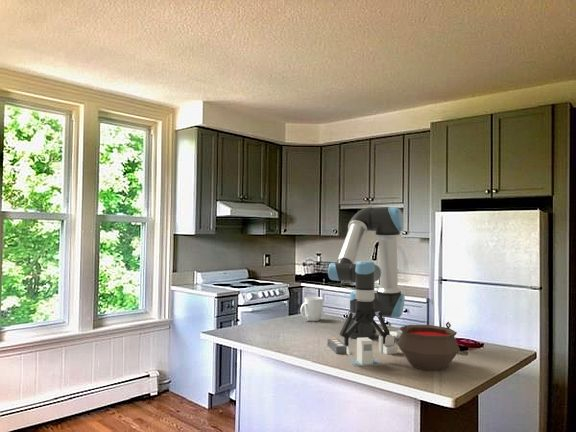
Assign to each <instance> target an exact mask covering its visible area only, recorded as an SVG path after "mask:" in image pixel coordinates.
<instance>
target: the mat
mask: <svg viewBox="0 0 576 432" xmlns="http://www.w3.org/2000/svg"><path fill="white" fill-rule="evenodd" d="M346 361H347V362H348V363H350V364H351V366H353V367H369V366H384V364H383V362H381V361H379V360H378V359H377V358H374V357H373V364H363V365H362V364H361V363H360V362H358V361H357V358H353V359H351V358H350V359H346Z"/></svg>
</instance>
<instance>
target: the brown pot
mask: <svg viewBox="0 0 576 432" xmlns="http://www.w3.org/2000/svg"><path fill="white" fill-rule="evenodd" d="M451 327H452V325H451V322H450V321H447V322H446V323H445V326H439V325H433V324H406V325H405V326H402V327H399V330H400V331H401V334H400V336H399V338H398V341H397V342H396V346H397V347H399V350H400V351H401V352H402V354H403V356H404V357H405V359H406V360H407V362H408V363H409V364H410V366H412V368H416V369H421V370H426V371H441V370H444V369H446V368H448V366H449V365H450V364H451V362H452V361H453V360H454V359H455V357H456V356H457V355H458V353H460V351H461V349H460V347H459V345H458V344H459V343H458V342H457V339H456V337H455V336H456V335H457V334H458V332H457V331H455V330H453V329H452V328H451Z"/></svg>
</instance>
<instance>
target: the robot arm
mask: <svg viewBox="0 0 576 432" xmlns="http://www.w3.org/2000/svg"><path fill="white" fill-rule="evenodd" d="M403 230H404V218H403V214H402V211H401V209H400V208H399V207H396V206H380V207H379V206H377V207H376V206H375V207H372V206H370V207H369V206H368V207H364V208H361V210H359V211H357V212H356V213H355V214H354V215H353V216H352V217H351V219H350V220H349V222H348V225H347V233H346V236H345V238H344V241H343V244H342V245H341V246H342V247H341V249H340V253H339V254H338V257H337V260H336V262H331V263H330V264H328V268H327V276H328V278H329V280H331V281H335V282H336V281H337V282H354V283H355V290H352V291H351V292H350V295H349V311H348V312H347V317H346V319H345V321H344V323H343V326H342V328H341V330H340V333H339V335H340V336H341V337H343V339H344V341H343V343H344V344H345V346H347V353H346V354H347V355H348V356H351V355H352V353H351V351H352V350H351V345H352V344H351V343H352V342H351V341H352V340H351V339H354V340H355V339H356V340H357V338H365V337H368V338H369V339H371V340H373V339H376V338H377V336H378V353H380V354H384V353H383V344H385V337H386V335H389V334H391V332H390V331H389V329H388V326H387V324H386V322H385V319H384V318H390V319H392V318H393V319H396V318H397V319H399V318H401V316H402V315H403V312H404V307H405V300H406V299H405V294H404V293H402V289H401V288H400V287H399V285H398V284H399V283H398V242H397V241H398V237H399V236H400V235H401V232H402V231H403ZM369 231H370V232H375V236H376V237H377V238H378V262H379V264H376V263H374V261H370V260H358V261H356V258H357V256H358V253H359V250H360V247H361V243H362V241H363V238H364V236H365V235H366V234H367V233H368V232H369ZM355 262H356V263H355ZM378 281H379V286H378V288H377V289H376V292H375V282H378ZM375 317H376V318H377V319H378V321H379V324H380V325H381V327H382V328H381V327H380V325H378V323H377V321H376V320H375ZM382 330H384V332H383V331H382ZM378 334H380V335H378Z"/></svg>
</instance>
